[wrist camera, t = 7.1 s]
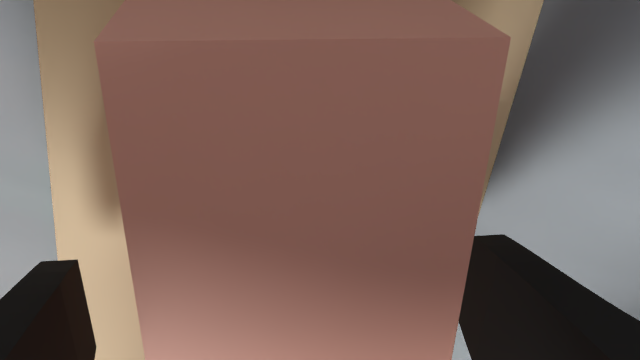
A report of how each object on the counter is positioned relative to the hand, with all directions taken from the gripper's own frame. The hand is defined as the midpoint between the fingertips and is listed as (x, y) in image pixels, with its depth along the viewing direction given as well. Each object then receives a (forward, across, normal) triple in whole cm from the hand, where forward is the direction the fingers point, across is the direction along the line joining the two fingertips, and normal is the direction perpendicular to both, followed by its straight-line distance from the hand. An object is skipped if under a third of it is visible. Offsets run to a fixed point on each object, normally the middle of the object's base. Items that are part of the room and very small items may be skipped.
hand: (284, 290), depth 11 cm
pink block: (+2, 0, 0) cm, 2 cm away
